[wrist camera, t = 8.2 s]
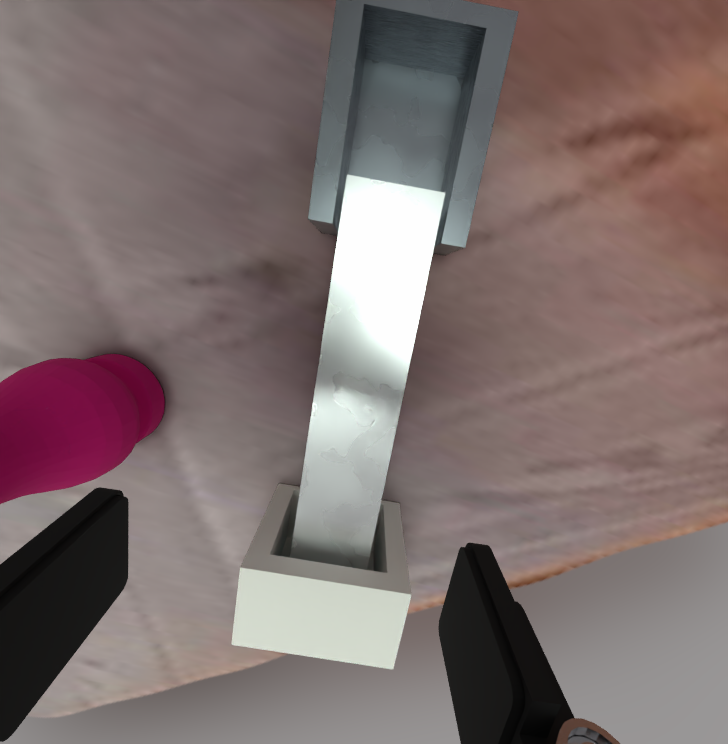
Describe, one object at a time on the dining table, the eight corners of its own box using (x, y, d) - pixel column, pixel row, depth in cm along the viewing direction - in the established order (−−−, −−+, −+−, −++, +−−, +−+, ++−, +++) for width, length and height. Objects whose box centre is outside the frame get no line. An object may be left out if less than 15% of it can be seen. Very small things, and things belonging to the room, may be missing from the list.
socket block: (278, 483, 27) (240, 567, 19) (399, 503, 27) (411, 594, 19) (270, 541, 28) (231, 644, 20) (386, 560, 28) (393, 669, 20)
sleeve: (346, 48, 21) (339, -25, 16) (483, 75, 21) (518, 11, 16) (321, 232, 23) (308, 219, 18) (444, 255, 23) (465, 247, 18)
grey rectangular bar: (351, 199, 21) (345, 173, 16) (428, 213, 22) (446, 192, 17) (299, 537, 27) (283, 595, 22) (361, 547, 27) (360, 607, 22)
